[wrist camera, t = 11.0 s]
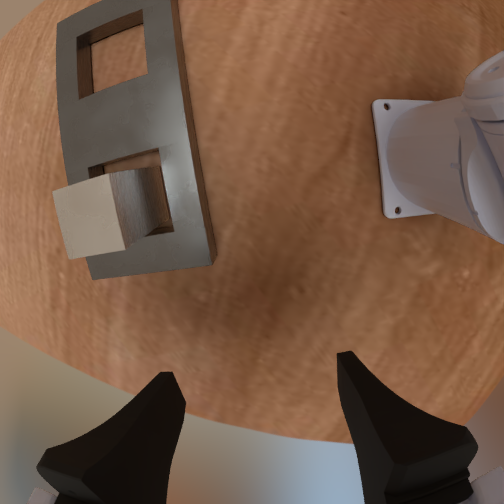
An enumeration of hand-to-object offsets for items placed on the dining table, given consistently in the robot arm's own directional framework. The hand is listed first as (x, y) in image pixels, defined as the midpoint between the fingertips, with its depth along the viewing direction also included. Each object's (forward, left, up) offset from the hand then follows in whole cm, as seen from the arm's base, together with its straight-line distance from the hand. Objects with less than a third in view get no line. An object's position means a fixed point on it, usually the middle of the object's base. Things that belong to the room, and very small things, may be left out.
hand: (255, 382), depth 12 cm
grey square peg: (+7, -8, -9) cm, 14 cm away
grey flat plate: (+7, -13, -9) cm, 17 cm away
